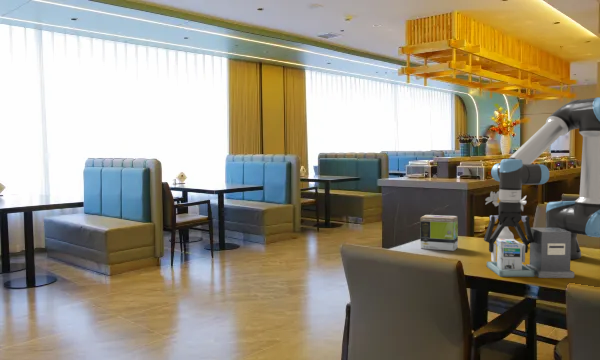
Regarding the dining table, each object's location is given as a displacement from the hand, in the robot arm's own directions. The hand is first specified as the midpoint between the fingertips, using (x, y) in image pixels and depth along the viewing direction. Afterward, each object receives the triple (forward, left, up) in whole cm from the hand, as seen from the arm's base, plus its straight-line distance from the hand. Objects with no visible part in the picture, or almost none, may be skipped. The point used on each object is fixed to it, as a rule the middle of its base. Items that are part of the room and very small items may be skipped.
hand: (507, 261), depth 188 cm
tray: (-1, 0, -4) cm, 4 cm away
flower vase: (-18, -55, -4) cm, 58 cm away
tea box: (+15, -44, -4) cm, 47 cm away
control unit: (-14, +3, -4) cm, 14 cm away
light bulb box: (0, 0, -3) cm, 3 cm away
